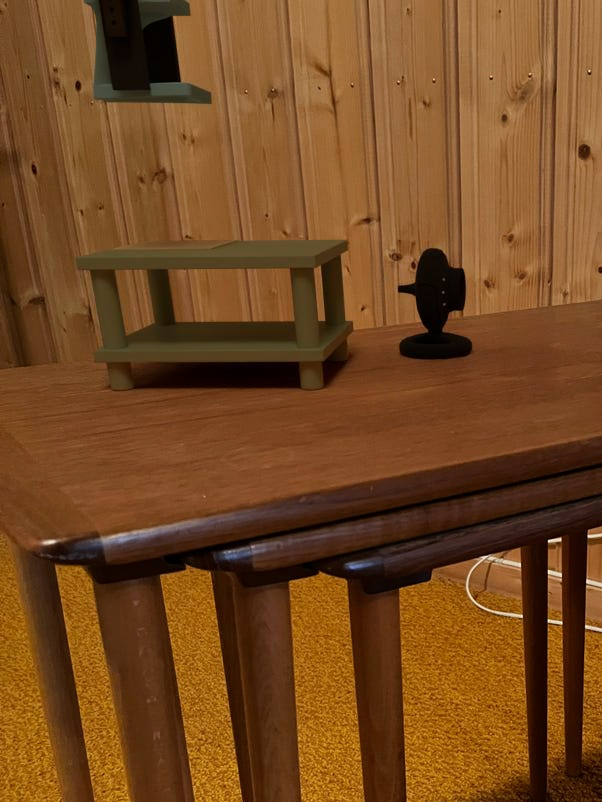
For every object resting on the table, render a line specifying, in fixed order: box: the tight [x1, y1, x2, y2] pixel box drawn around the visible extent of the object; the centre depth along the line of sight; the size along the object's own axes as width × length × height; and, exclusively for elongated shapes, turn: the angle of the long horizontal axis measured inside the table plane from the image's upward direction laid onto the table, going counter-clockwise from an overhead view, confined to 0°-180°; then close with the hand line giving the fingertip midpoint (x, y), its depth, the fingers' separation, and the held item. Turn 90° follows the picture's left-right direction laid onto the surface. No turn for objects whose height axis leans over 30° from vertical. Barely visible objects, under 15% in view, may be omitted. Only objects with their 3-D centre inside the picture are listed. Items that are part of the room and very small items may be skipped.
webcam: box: [397, 247, 473, 360], centre depth 98 cm, size 8×8×10 cm
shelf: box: [74, 239, 355, 391], centre depth 89 cm, size 20×16×11 cm
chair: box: [83, 0, 213, 105], centre depth 76 cm, size 8×8×12 cm
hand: (149, 92), depth 78 cm, fingers closed on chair, 7 cm apart
